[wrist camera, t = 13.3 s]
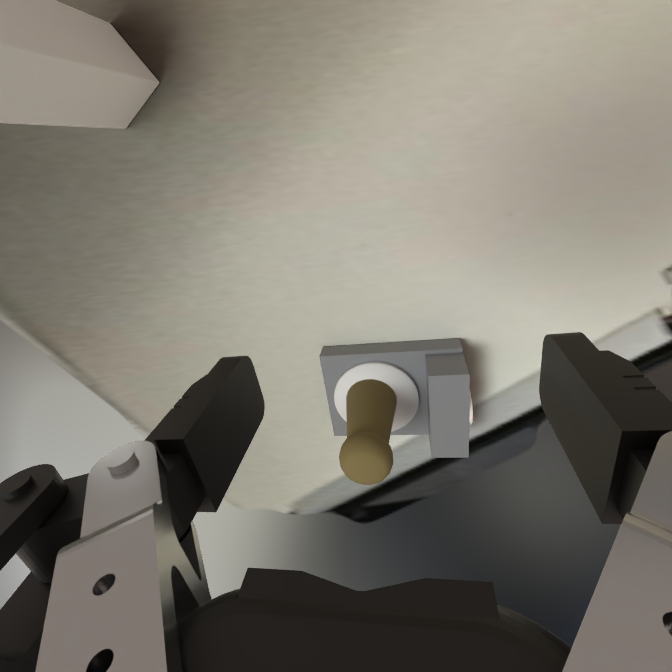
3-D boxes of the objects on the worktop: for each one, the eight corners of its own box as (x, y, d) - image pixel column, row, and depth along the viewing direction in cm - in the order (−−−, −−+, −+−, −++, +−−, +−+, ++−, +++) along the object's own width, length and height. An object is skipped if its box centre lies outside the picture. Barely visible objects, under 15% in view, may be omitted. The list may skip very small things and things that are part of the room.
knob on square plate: (464, 337, 43) (475, 369, 37) (463, 420, 48) (473, 460, 42) (323, 346, 46) (312, 377, 40) (337, 423, 51) (329, 461, 45)
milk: (161, 82, 35) (-121, 13, 16) (126, 130, 38) (-157, 120, 18) (108, 20, 33) (-280, -143, 14) (75, 74, 36) (-297, -3, 16)
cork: (401, 416, 45) (403, 492, 35) (353, 423, 46) (342, 497, 37) (390, 375, 43) (389, 443, 33) (340, 383, 44) (324, 451, 34)
